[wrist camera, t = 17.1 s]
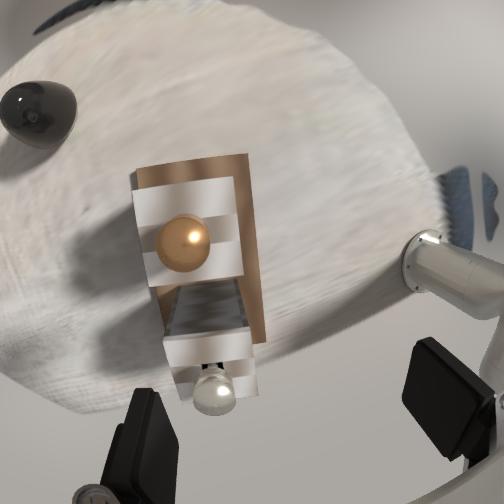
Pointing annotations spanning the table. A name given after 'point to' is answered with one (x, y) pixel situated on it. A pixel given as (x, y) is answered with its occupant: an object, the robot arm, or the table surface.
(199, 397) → the ivory plunger
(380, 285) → the table surface
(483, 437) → the robot arm
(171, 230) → the copper plunger
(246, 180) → the press station
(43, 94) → the pump dispenser
